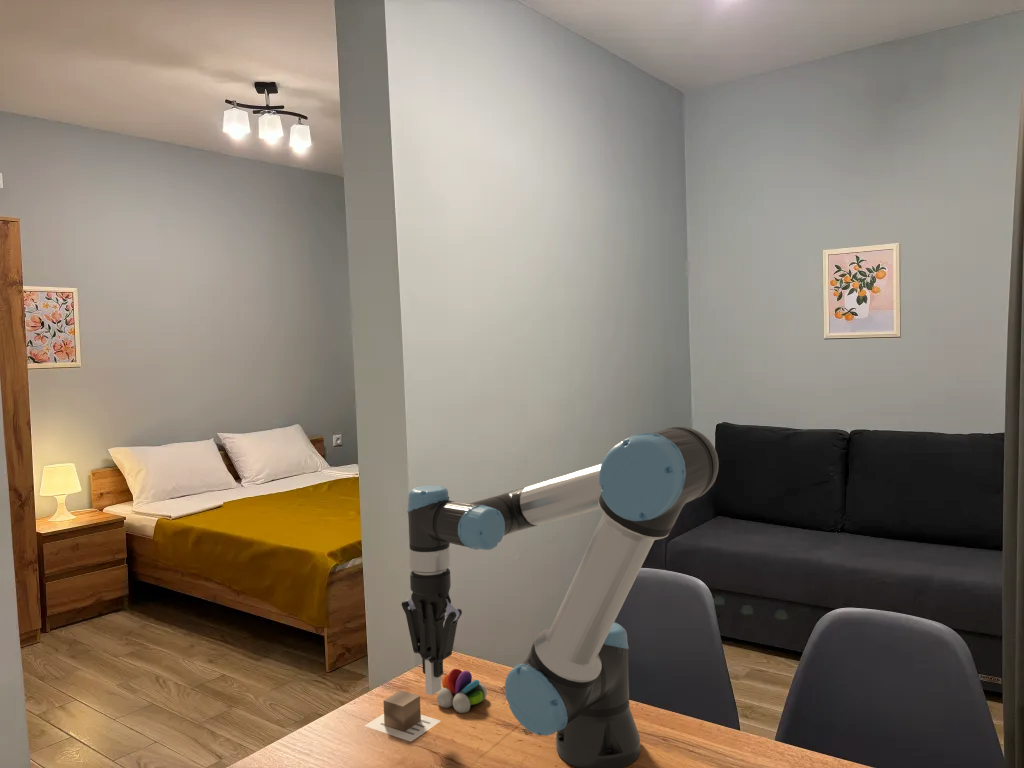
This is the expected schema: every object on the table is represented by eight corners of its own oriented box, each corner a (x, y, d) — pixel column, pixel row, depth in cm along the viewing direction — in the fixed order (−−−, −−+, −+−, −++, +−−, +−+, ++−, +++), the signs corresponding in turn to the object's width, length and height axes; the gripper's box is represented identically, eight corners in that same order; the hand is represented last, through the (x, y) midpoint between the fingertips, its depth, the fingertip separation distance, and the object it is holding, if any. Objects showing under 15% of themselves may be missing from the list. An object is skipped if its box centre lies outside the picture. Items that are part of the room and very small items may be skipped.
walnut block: (420, 720, 148) (419, 695, 148) (403, 732, 144) (402, 706, 144) (401, 714, 151) (400, 690, 151) (384, 725, 147) (383, 700, 147)
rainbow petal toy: (457, 691, 162) (456, 657, 161) (493, 702, 156) (492, 667, 156) (431, 707, 155) (429, 672, 154) (467, 719, 149) (466, 683, 149)
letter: (441, 722, 148) (441, 720, 148) (411, 743, 140) (411, 741, 140) (395, 708, 155) (395, 706, 155) (364, 727, 147) (364, 725, 147)
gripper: (469, 568, 141) (472, 691, 142) (416, 559, 148) (419, 676, 149) (445, 580, 135) (448, 708, 136) (390, 569, 142) (394, 691, 143)
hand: (433, 691), depth 143 cm, fingers closed
